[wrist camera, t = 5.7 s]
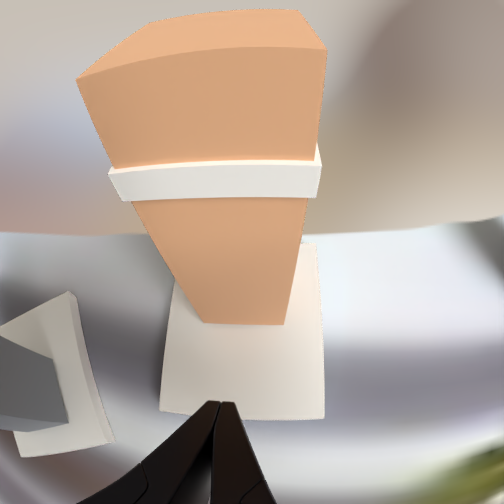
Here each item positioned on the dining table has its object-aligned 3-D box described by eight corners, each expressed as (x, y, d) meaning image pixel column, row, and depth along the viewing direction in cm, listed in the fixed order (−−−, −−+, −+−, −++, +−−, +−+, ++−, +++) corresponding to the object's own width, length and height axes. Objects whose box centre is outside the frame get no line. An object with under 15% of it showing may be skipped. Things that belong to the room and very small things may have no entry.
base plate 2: (320, 417, 14) (324, 418, 13) (165, 410, 14) (158, 410, 13) (313, 252, 20) (315, 243, 19) (185, 251, 20) (181, 242, 19)
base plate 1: (115, 441, 13) (106, 442, 12) (31, 457, 11) (21, 457, 10) (76, 297, 18) (68, 290, 17) (6, 332, 17) (-3, 327, 16)
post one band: (286, 327, 15) (338, 53, 3) (200, 325, 16) (65, 85, 4) (285, 253, 18) (302, 9, 6) (209, 252, 18) (147, 22, 6)
